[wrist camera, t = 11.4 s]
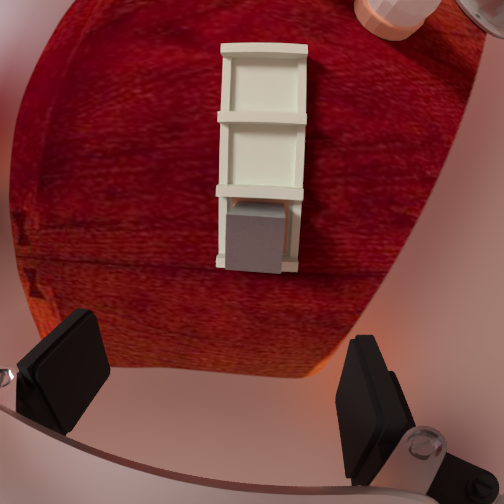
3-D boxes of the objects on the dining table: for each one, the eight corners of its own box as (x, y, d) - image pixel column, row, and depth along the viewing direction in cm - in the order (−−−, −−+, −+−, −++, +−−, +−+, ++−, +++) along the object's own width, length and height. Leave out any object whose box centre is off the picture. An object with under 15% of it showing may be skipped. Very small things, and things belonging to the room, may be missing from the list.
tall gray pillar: (284, 203, 29) (285, 218, 23) (281, 247, 31) (281, 273, 24) (238, 200, 29) (225, 214, 23) (237, 244, 31) (225, 269, 24)
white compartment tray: (305, 54, 25) (307, 44, 22) (296, 261, 32) (297, 272, 29) (226, 53, 26) (221, 43, 23) (221, 257, 33) (216, 267, 30)
